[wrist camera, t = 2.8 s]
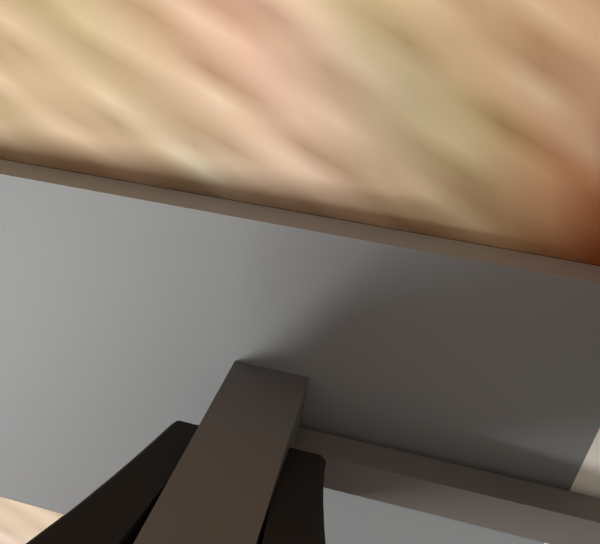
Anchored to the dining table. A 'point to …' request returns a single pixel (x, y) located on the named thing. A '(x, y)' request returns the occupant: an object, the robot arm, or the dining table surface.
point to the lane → (283, 342)
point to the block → (334, 475)
